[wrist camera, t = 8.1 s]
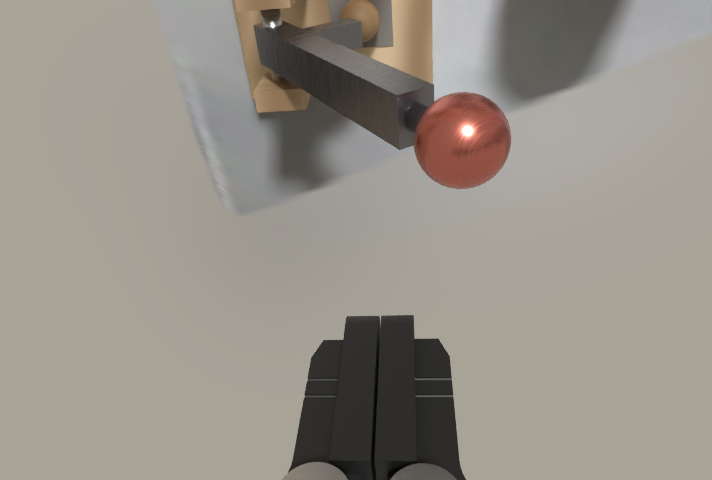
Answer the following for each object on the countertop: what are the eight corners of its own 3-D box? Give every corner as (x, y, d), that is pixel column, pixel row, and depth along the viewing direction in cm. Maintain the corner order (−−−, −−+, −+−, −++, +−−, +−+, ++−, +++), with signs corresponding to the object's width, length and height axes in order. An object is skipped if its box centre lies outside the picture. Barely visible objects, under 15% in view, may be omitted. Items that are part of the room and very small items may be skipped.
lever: (335, -8, 36) (603, 66, 20) (341, 57, 38) (585, 169, 22) (236, 12, 33) (453, 114, 18) (250, 80, 36) (452, 224, 20)
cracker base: (429, -85, 38) (437, -67, 29) (431, 74, 44) (437, 127, 35) (231, -66, 39) (183, -44, 30) (260, 84, 45) (227, 138, 37)
